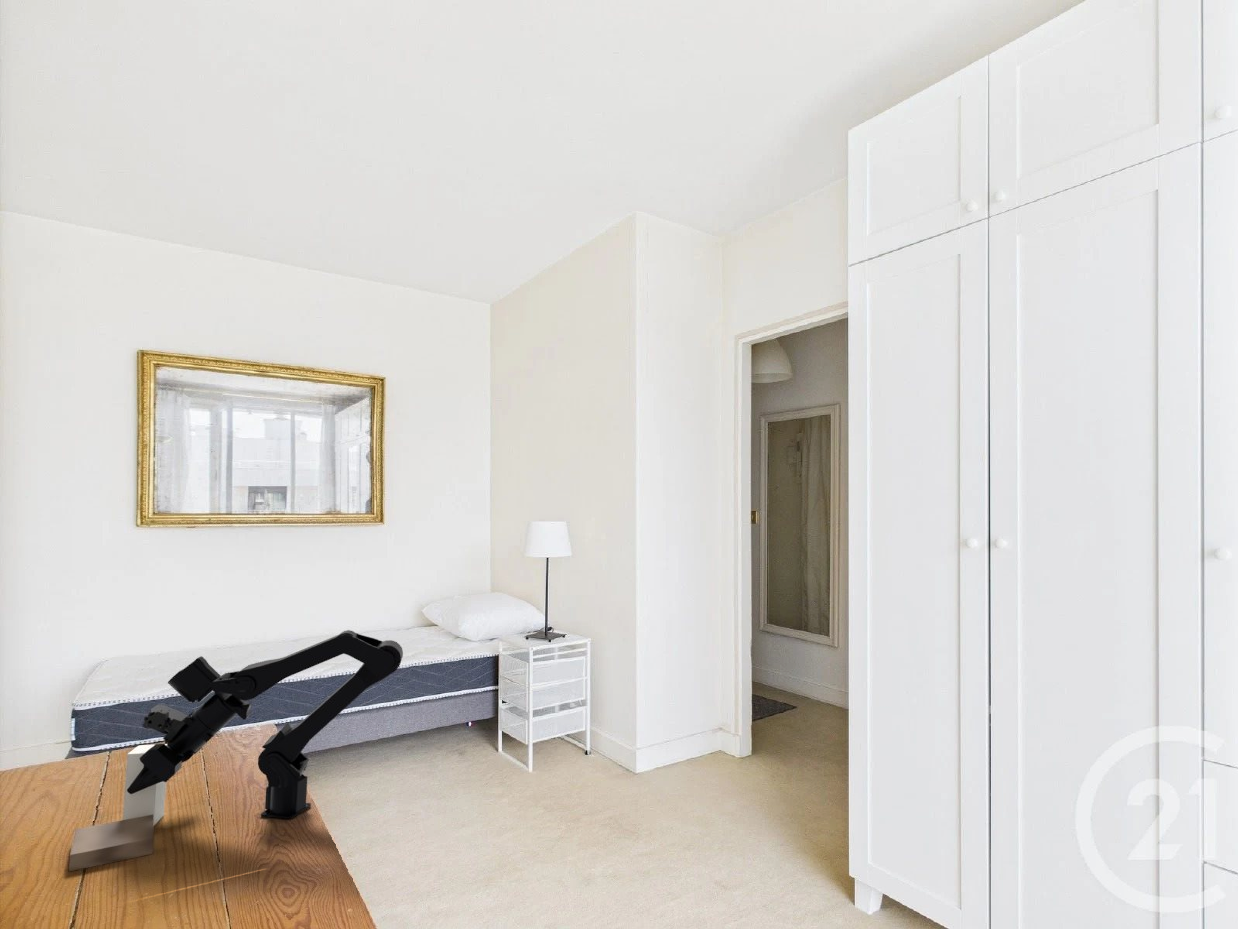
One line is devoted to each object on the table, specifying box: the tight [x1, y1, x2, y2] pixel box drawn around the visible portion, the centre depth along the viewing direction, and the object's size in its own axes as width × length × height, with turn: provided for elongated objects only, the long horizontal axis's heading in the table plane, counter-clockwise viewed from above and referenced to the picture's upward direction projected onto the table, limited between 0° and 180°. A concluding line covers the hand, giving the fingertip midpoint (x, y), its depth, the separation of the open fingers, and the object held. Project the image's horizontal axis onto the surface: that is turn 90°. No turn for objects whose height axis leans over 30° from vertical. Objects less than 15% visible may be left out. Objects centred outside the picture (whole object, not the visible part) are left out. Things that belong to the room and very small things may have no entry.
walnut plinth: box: [68, 815, 155, 872], centre depth 117 cm, size 11×11×2 cm
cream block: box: [121, 743, 167, 827], centre depth 128 cm, size 5×5×13 cm
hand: (137, 785), depth 127 cm, fingers open, 7 cm apart
